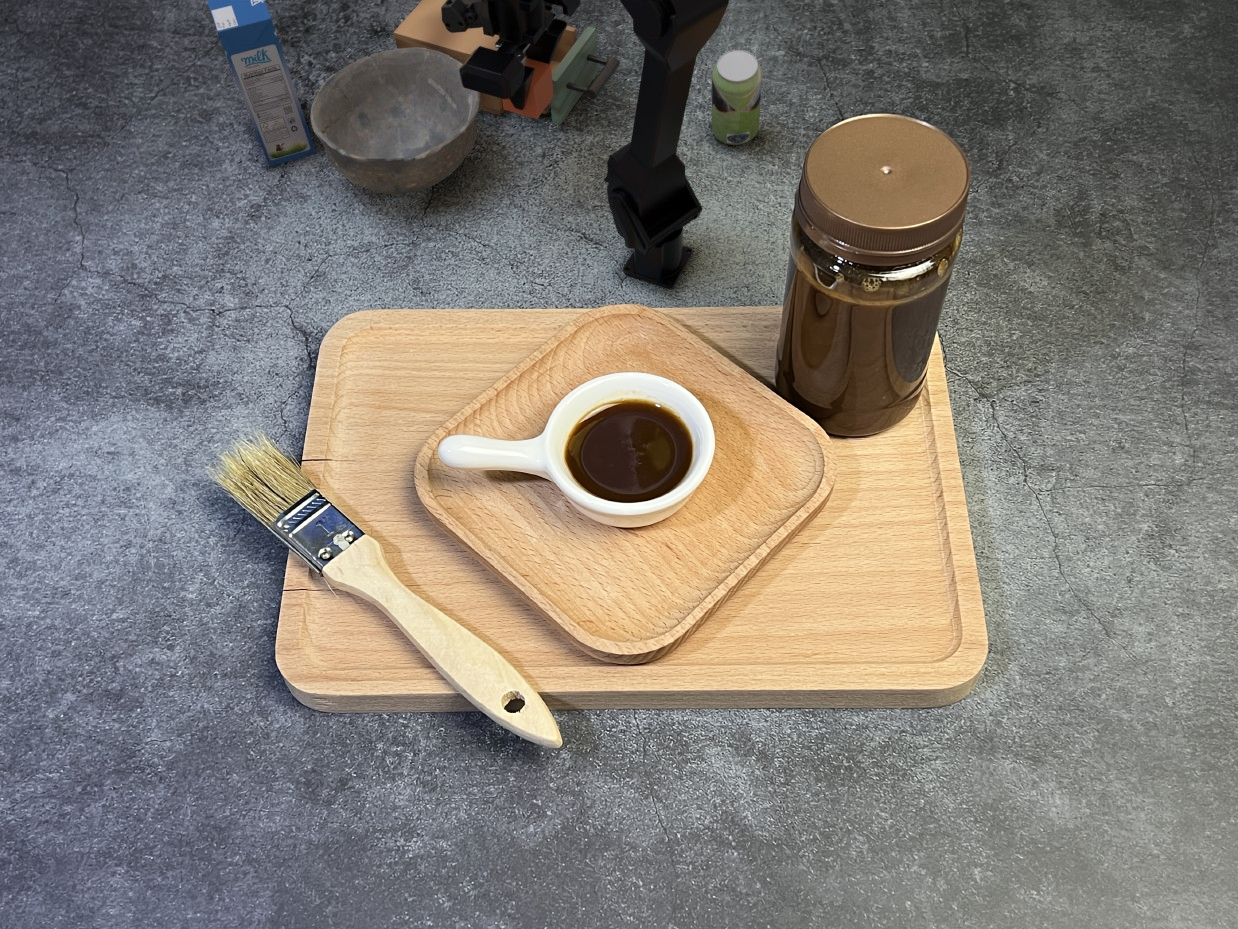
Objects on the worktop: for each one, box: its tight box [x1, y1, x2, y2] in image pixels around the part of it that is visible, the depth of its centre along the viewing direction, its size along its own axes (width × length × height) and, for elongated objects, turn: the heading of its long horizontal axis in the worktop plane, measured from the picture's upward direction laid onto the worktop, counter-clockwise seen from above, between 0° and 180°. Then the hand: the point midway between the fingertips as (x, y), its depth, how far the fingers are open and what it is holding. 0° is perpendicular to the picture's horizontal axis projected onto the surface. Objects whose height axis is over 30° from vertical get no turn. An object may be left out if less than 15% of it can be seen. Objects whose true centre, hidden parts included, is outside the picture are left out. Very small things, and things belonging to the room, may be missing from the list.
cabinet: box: [393, 0, 505, 116], centre depth 147 cm, size 15×13×9 cm
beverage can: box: [711, 49, 763, 146], centre depth 137 cm, size 6×7×12 cm
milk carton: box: [206, 0, 317, 168], centre depth 136 cm, size 10×6×20 cm, turn 22°
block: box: [502, 58, 554, 120], centre depth 129 cm, size 4×4×4 cm
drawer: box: [501, 25, 621, 125], centre depth 144 cm, size 18×11×7 cm, turn 65°
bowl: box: [310, 47, 481, 196], centre depth 137 cm, size 21×21×10 cm
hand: (528, 95), depth 130 cm, fingers closed on block, 4 cm apart
